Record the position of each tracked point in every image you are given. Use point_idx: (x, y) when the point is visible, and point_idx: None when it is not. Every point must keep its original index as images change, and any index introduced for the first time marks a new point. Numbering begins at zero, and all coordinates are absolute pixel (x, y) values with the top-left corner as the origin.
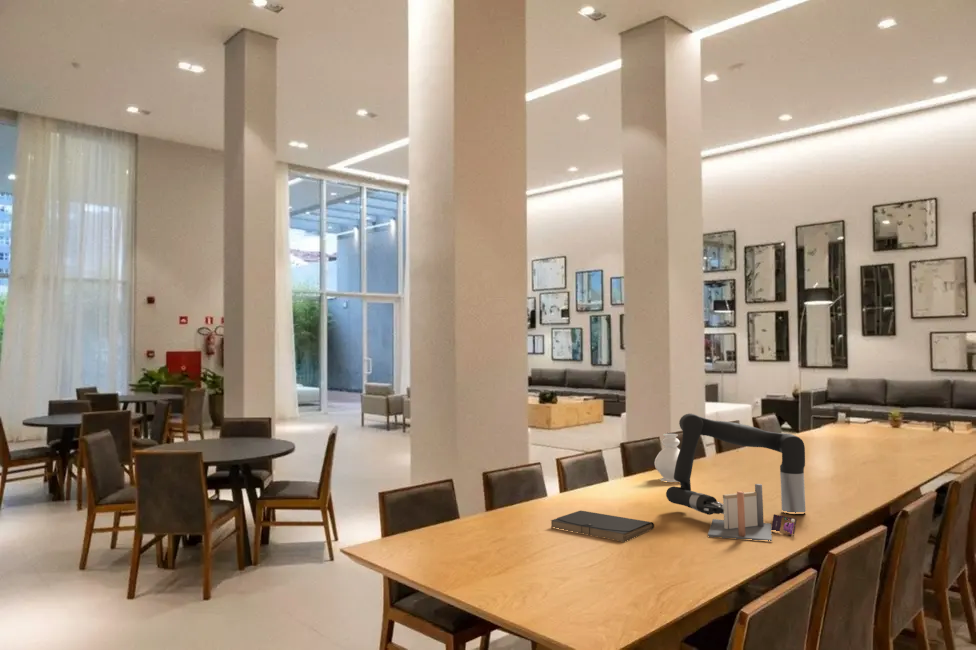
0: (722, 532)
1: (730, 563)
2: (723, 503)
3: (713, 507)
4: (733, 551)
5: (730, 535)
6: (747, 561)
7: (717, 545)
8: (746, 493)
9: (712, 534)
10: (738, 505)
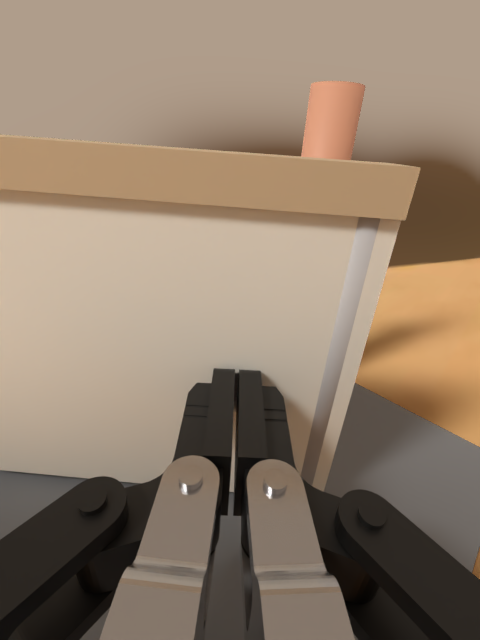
0: (376, 450)
1: (452, 287)
2: (379, 293)
3: (467, 570)
4: (411, 318)
5: (352, 391)
6: (400, 282)
7: (459, 365)
8: (51, 138)
9: (467, 443)
10: None
